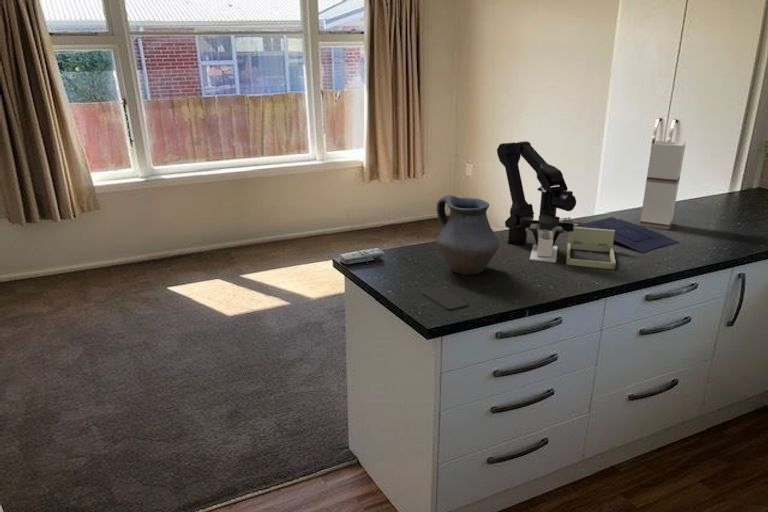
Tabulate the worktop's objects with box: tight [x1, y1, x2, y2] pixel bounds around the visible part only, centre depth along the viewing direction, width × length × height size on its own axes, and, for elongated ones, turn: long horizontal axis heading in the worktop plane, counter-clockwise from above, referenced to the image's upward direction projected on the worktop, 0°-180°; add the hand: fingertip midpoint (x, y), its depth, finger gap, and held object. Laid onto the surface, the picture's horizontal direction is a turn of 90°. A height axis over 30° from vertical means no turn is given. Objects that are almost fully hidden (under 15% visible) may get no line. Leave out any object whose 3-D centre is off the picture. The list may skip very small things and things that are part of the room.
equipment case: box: [565, 227, 617, 270], centre depth 206 cm, size 16×21×8 cm
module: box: [537, 230, 554, 257], centre depth 210 cm, size 5×12×7 cm, turn 165°
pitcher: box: [436, 194, 500, 276], centre depth 191 cm, size 21×22×25 cm
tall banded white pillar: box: [639, 140, 686, 230], centre depth 242 cm, size 11×11×35 cm
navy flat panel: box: [581, 216, 679, 253], centre depth 229 cm, size 24×30×4 cm
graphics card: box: [559, 216, 586, 228], centre depth 240 cm, size 17×4×12 cm
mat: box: [529, 243, 559, 263], centre depth 211 cm, size 9×18×1 cm, turn 162°
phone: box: [421, 287, 469, 311], centre depth 171 cm, size 7×1×15 cm
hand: (544, 246), depth 211 cm, fingers closed on module, 5 cm apart
